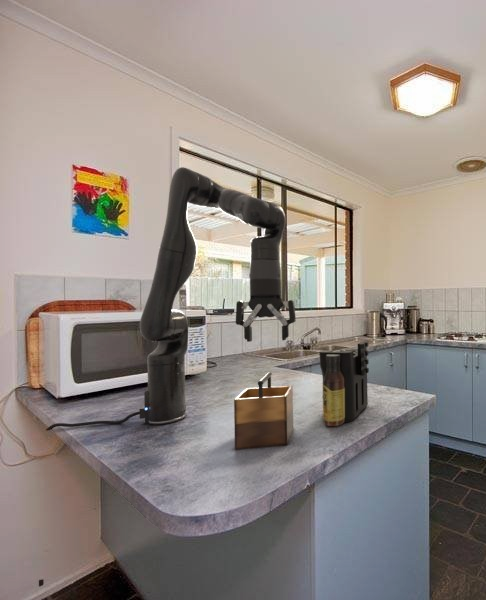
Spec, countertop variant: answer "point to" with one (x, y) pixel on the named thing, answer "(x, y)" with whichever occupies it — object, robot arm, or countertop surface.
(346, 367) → the black machined bracket
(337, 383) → the sauce bottle
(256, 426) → the bottom basket
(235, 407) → the box
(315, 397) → the countertop surface
